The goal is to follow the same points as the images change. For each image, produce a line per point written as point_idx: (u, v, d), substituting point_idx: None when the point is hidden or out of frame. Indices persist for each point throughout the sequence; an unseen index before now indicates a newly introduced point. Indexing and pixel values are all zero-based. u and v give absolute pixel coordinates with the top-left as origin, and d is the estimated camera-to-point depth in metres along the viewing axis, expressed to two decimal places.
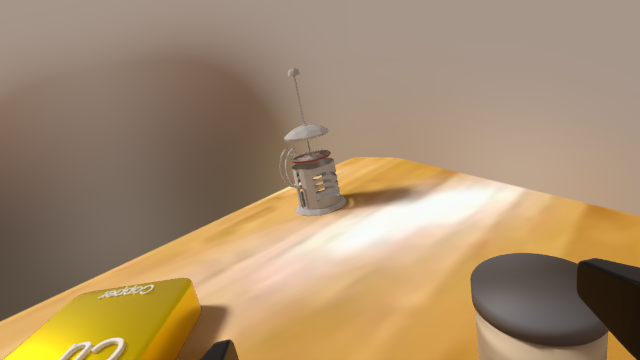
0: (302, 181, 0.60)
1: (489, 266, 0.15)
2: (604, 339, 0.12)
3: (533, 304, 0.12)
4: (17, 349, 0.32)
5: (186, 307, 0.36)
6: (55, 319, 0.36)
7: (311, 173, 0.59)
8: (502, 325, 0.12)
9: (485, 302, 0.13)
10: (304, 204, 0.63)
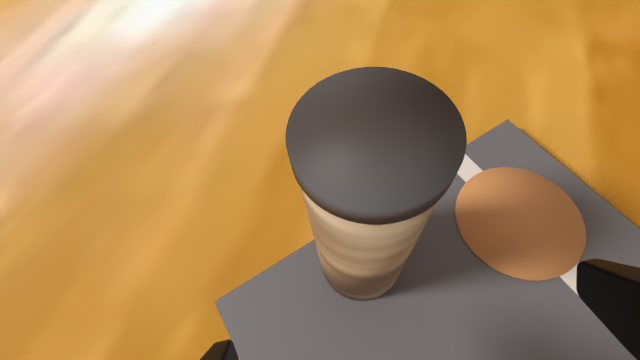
0: None
1: (312, 103, 0.09)
2: None
3: (371, 172, 0.08)
4: None
5: None
6: None
7: None
8: (330, 209, 0.08)
9: (307, 181, 0.08)
10: None
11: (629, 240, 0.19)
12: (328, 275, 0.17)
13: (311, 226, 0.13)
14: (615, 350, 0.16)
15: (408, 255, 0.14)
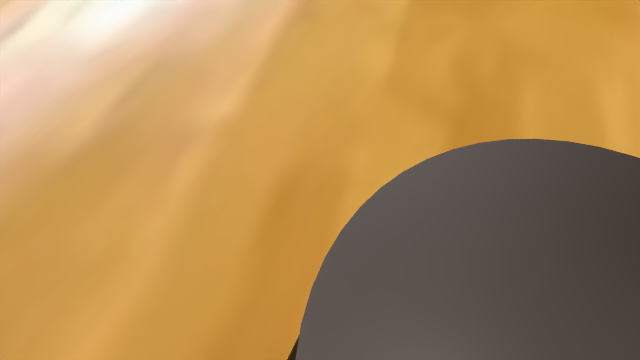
0: None
1: (371, 264, 0.03)
2: None
3: None
4: None
5: None
6: None
7: None
8: None
9: None
10: None
11: None
12: None
13: None
14: None
15: None
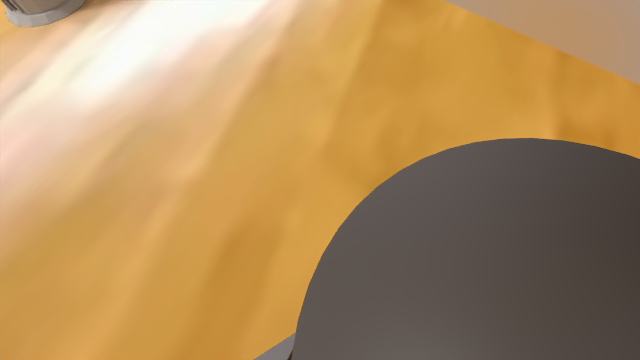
0: None
1: (367, 262, 0.03)
2: None
3: None
4: None
5: None
6: None
7: None
8: None
9: None
10: None
11: None
12: None
13: None
14: None
15: None
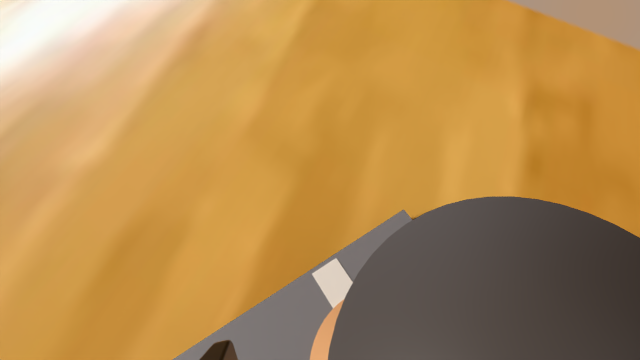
0: None
1: (382, 301, 0.04)
2: None
3: None
4: None
5: None
6: None
7: None
8: None
9: None
10: None
11: None
12: None
13: None
14: None
15: None
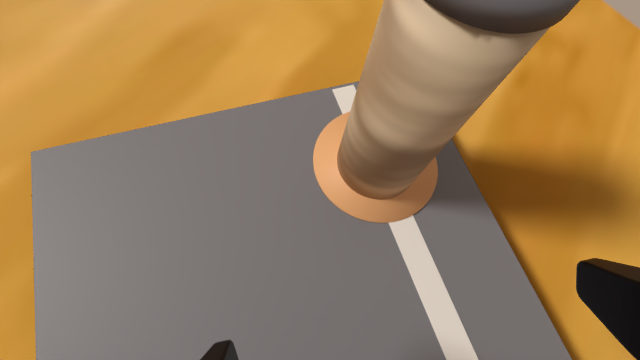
0: None
1: None
2: (549, 27, 0.09)
3: None
4: None
5: None
6: None
7: None
8: None
9: None
10: None
11: (471, 210, 0.18)
12: (349, 155, 0.16)
13: (366, 73, 0.12)
14: (406, 299, 0.16)
15: (448, 140, 0.13)
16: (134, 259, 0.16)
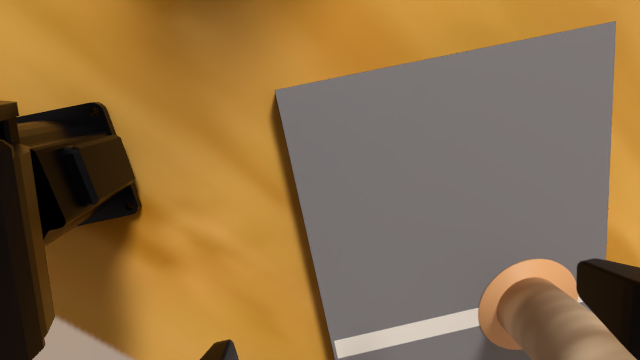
0: None
1: None
2: None
3: None
4: None
5: None
6: None
7: None
8: None
9: None
10: None
11: None
12: (551, 302, 0.20)
13: None
14: (423, 311, 0.22)
15: None
16: (497, 121, 0.20)
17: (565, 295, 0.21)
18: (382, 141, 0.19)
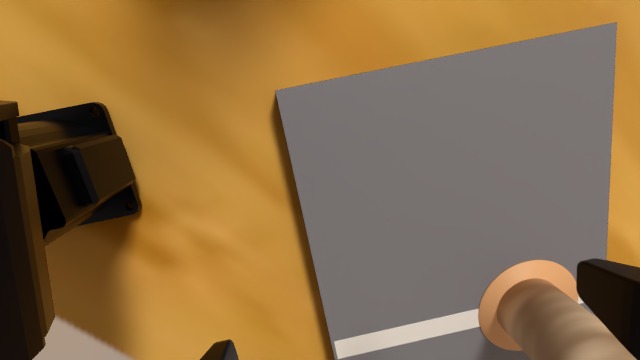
0: None
1: None
2: None
3: None
4: None
5: None
6: None
7: None
8: None
9: None
10: None
11: None
12: (551, 303, 0.20)
13: None
14: (423, 312, 0.22)
15: None
16: (497, 122, 0.19)
17: (566, 296, 0.21)
18: (382, 142, 0.19)
